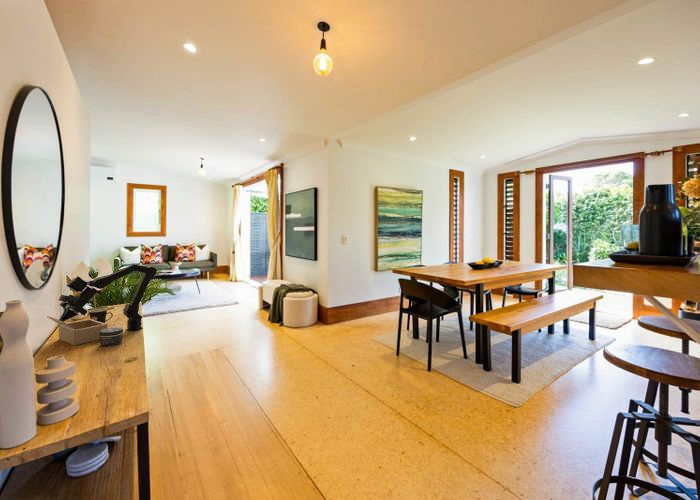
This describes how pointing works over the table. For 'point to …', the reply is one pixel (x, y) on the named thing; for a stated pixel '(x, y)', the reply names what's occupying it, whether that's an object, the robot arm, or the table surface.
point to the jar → (111, 336)
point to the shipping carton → (81, 332)
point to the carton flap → (60, 322)
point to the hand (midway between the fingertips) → (59, 322)
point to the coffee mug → (99, 315)
